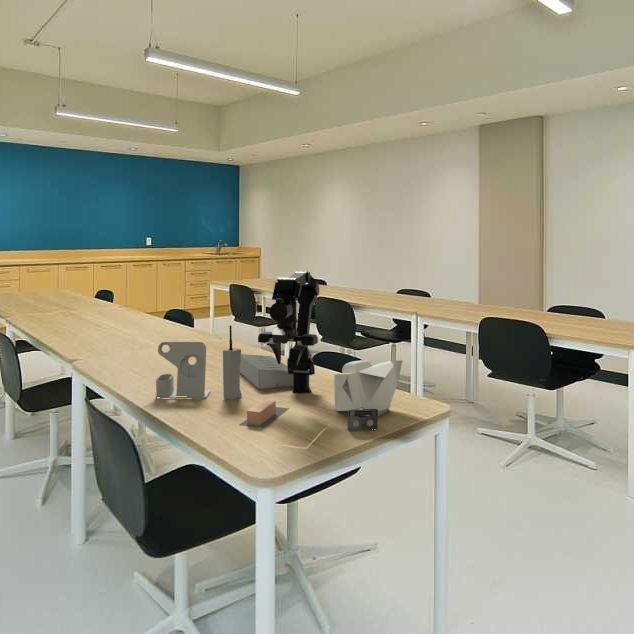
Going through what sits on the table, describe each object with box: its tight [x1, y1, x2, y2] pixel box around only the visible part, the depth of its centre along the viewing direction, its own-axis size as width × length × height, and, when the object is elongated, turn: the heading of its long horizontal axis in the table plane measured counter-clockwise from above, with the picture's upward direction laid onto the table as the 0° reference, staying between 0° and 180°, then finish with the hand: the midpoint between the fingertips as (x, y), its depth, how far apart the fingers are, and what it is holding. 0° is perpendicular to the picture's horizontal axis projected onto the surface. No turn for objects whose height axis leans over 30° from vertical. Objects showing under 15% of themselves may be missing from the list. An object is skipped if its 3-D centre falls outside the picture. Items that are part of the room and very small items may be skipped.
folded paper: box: [333, 359, 403, 417], centre depth 177 cm, size 17×24×17 cm
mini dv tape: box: [347, 408, 379, 432], centre depth 160 cm, size 8×2×6 cm, turn 98°
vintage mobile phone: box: [222, 325, 243, 401], centre depth 190 cm, size 4×5×25 cm
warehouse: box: [239, 353, 293, 390], centre depth 219 cm, size 30×14×8 cm, turn 22°
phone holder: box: [155, 341, 211, 400], centre depth 194 cm, size 17×10×18 cm, turn 92°
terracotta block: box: [246, 399, 277, 426], centre depth 168 cm, size 4×4×12 cm
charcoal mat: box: [239, 406, 290, 429], centre depth 171 cm, size 20×8×1 cm, turn 162°
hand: (287, 364), depth 184 cm, fingers open, 6 cm apart
